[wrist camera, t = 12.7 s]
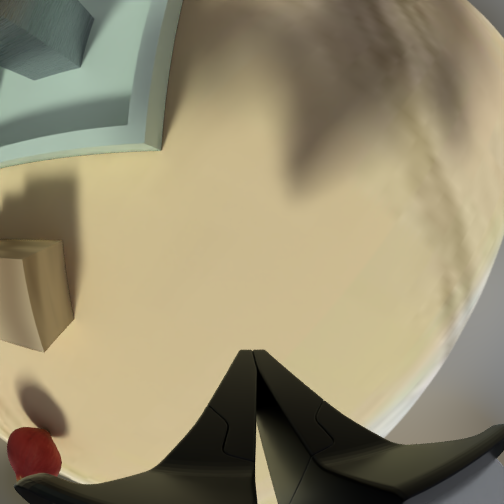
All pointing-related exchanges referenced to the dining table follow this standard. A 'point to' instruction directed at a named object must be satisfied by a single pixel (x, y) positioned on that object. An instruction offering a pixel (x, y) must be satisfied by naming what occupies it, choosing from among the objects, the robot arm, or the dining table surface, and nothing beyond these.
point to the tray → (96, 89)
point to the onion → (33, 452)
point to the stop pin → (43, 36)
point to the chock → (33, 293)
